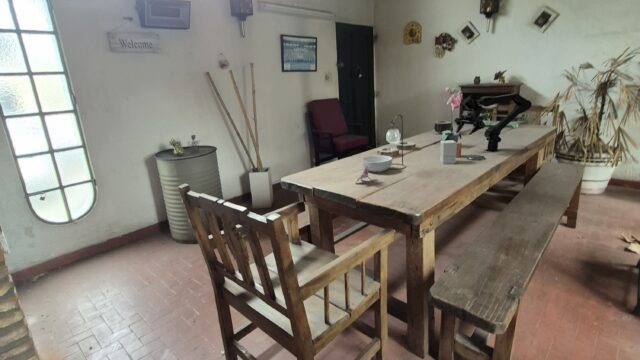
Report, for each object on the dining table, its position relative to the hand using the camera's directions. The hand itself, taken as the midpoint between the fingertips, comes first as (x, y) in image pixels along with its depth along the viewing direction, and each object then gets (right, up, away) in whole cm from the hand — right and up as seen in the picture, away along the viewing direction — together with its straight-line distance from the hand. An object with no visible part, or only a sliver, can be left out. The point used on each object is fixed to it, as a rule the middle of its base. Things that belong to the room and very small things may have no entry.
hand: (462, 133), depth 210 cm
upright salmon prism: (-4, -14, +1) cm, 15 cm away
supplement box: (-14, -19, -11) cm, 25 cm away
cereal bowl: (-56, -24, -18) cm, 64 cm away
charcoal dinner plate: (+5, -16, -6) cm, 18 cm away
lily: (-66, -30, -38) cm, 82 cm away
